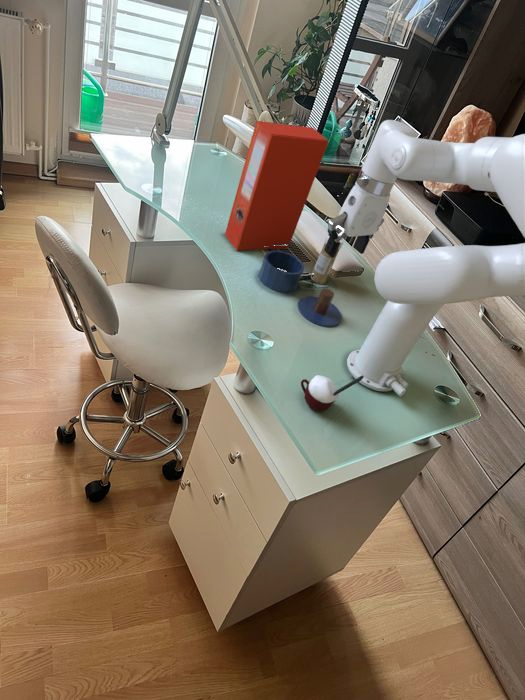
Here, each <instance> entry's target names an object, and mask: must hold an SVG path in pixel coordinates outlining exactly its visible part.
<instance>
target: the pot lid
mask: <svg viewBox="0 0 525 700" xmlns="http://www.w3.org/2000/svg"><path fill="white" fill-rule="evenodd" d="M334 297H335V293H334V292H333V290H331V289H328V288H322V289H321V291H320V294H319V296H313V295H307V296H303V297H301V298H300V299H299V300H298V303H297V309H298V312H299V314H300V315H301V316H302V317H303V318H305V319H306V320H307V321H308V322H310V323H311V324H314V325H317V326H319V327H326V328H329V327H330V328H332V327H335V326H338V325H339V324H340V323H341V320H342V314H341V312H340V310H339V308H338V307H337V306H335V304H333V303H332V301H333V299H334Z"/></svg>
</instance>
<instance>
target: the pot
mask: <svg viewBox="0 0 525 700" xmlns="http://www.w3.org/2000/svg"><path fill="white" fill-rule="evenodd" d="M277 268H280V269H283V270H286V271H287V272H284V271H281V270H279V269H277ZM304 270H305V265H304V263H303V261H301V260H300V259H299V258H298V257H297V256H295V255H293V254H291V253H289V252H286V251H283V250H278V249H274V250H269V251H268V252H265V255H264V258H263V261H262V264H261V267H260V269H259V272H258V279H259V282H261V284H262V285H263V286H264V287H265V288H268V289H269V290H271V291H274V292H276V293H280V294H281V293H282V294H289V293H294V291H296V290H297V288H298V285H299V283H300V281H301V279H302V276H303V273H304Z"/></svg>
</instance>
